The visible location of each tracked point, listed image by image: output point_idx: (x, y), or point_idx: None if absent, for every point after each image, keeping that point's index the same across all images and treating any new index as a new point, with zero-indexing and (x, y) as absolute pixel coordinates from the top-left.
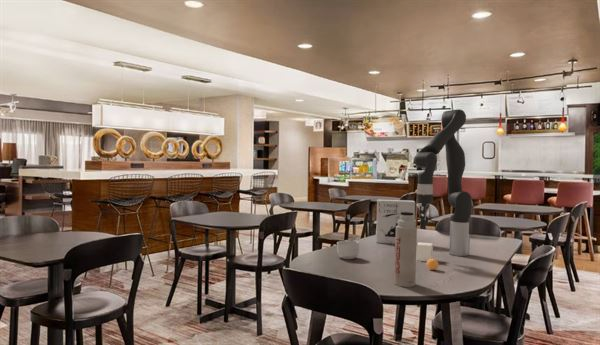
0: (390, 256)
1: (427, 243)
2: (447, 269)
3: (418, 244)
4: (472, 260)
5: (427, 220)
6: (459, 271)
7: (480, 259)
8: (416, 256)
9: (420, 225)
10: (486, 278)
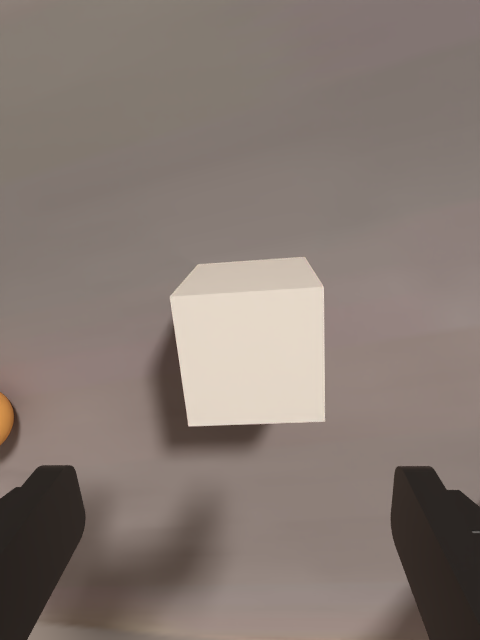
0: (232, 11)
1: (295, 379)
2: None
3: (177, 314)
4: None
5: (429, 632)
6: None
7: None
8: (193, 271)
9: (23, 485)
10: None
